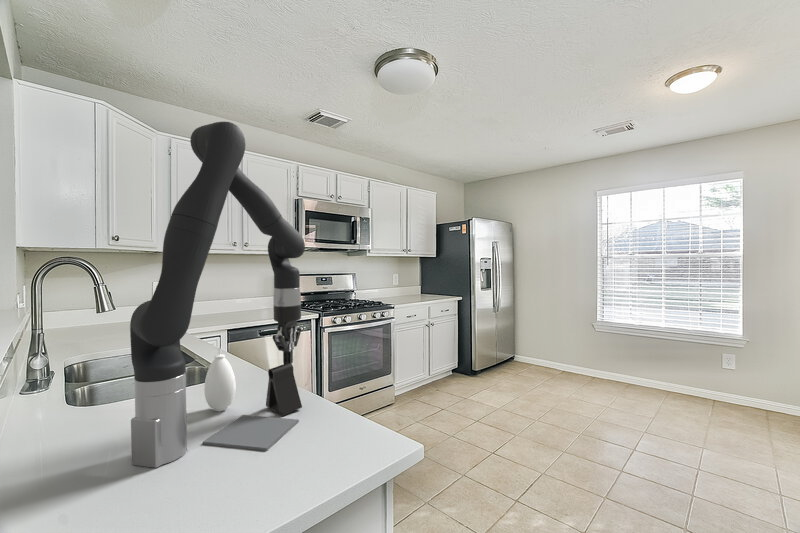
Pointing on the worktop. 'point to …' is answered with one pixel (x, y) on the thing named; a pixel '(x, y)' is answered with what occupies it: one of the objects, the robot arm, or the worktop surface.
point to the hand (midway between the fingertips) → (288, 363)
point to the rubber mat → (252, 432)
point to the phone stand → (282, 390)
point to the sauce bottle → (220, 384)
